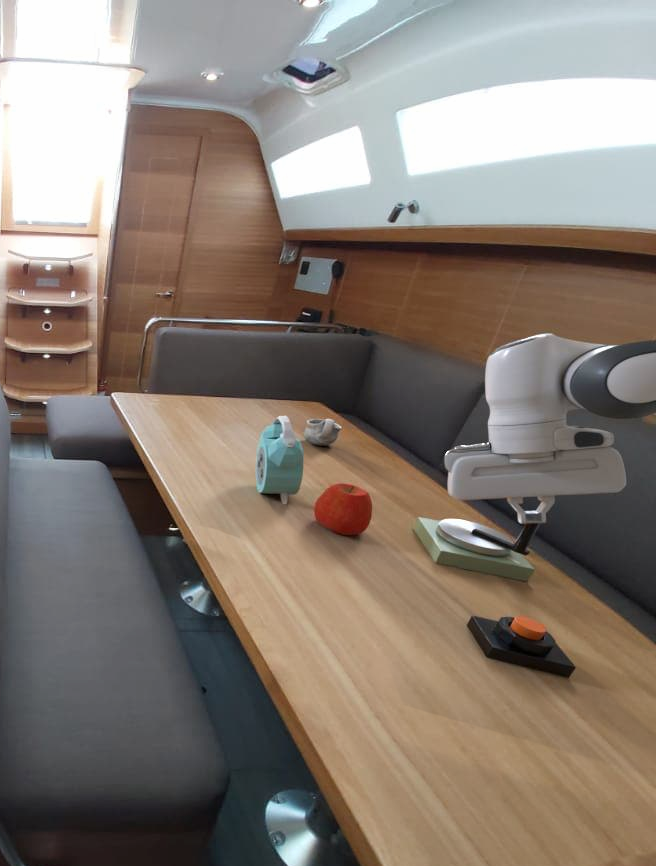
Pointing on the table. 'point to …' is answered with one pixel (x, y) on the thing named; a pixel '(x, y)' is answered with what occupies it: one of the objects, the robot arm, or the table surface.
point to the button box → (519, 646)
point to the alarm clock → (279, 460)
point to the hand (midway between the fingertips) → (531, 522)
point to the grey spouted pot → (321, 431)
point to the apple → (344, 509)
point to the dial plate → (470, 555)
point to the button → (528, 628)
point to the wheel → (485, 537)
